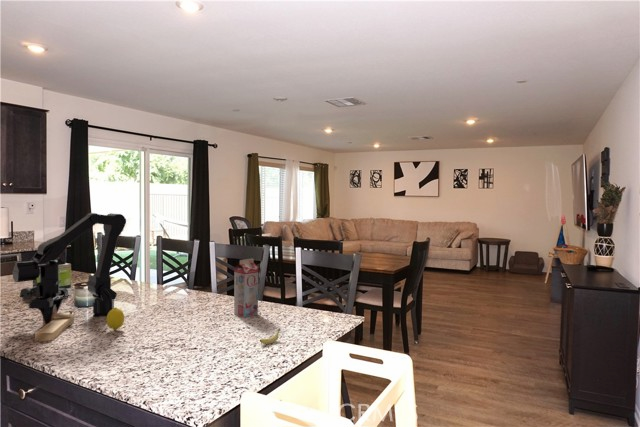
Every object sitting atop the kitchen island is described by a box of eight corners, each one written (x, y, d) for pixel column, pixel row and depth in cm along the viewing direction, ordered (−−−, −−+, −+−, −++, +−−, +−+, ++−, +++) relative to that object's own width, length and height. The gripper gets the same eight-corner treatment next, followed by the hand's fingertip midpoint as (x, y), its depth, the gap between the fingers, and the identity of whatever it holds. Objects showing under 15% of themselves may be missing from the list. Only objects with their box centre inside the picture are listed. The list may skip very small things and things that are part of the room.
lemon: (106, 334, 143) (106, 310, 143) (106, 329, 148) (106, 306, 148) (124, 331, 146) (124, 308, 145) (123, 327, 150) (123, 304, 150)
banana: (278, 339, 141) (278, 327, 141) (281, 340, 140) (281, 328, 140) (258, 345, 135) (258, 333, 135) (262, 347, 134) (262, 334, 134)
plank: (74, 321, 156) (73, 315, 156) (52, 340, 136) (52, 332, 136) (58, 322, 155) (58, 315, 154) (35, 341, 135) (34, 333, 135)
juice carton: (257, 314, 170) (258, 259, 169) (244, 317, 165) (244, 261, 164) (247, 310, 174) (248, 257, 173) (234, 314, 169) (234, 259, 168)
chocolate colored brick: (75, 322, 155) (75, 306, 155) (71, 325, 151) (71, 309, 151) (47, 323, 153) (47, 307, 153) (42, 327, 149) (42, 310, 149)
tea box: (72, 295, 195) (71, 263, 194) (48, 299, 186) (48, 266, 185) (55, 290, 203) (55, 260, 202) (31, 294, 194) (31, 262, 194)
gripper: (35, 273, 158) (35, 315, 158) (10, 284, 140) (11, 331, 140) (68, 273, 160) (68, 314, 161) (48, 283, 142) (49, 329, 143)
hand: (49, 321), depth 151 cm, fingers closed on chocolate colored brick, 4 cm apart
